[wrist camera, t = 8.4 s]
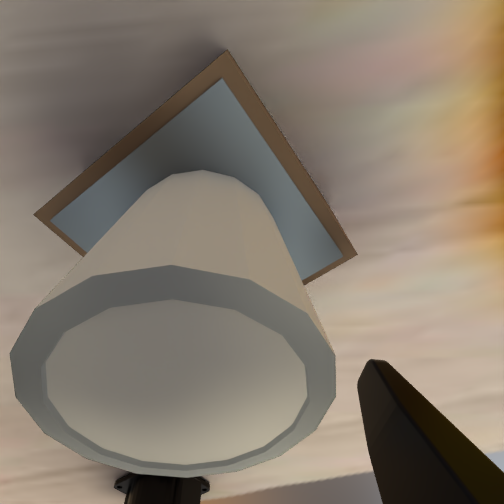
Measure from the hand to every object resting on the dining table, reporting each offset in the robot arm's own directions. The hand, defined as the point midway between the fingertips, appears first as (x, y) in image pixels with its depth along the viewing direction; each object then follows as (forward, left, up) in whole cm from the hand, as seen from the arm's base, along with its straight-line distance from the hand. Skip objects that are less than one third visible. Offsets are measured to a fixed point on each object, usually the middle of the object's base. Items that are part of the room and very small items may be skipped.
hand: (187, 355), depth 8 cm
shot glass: (0, 0, -6) cm, 6 cm away
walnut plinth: (0, 0, -11) cm, 11 cm away
